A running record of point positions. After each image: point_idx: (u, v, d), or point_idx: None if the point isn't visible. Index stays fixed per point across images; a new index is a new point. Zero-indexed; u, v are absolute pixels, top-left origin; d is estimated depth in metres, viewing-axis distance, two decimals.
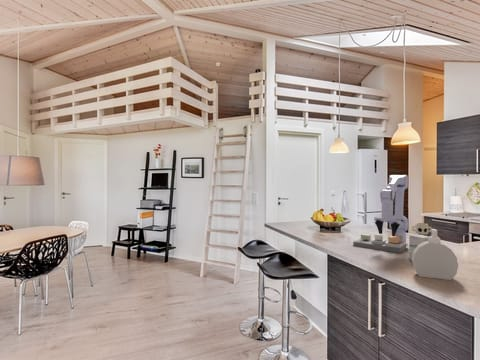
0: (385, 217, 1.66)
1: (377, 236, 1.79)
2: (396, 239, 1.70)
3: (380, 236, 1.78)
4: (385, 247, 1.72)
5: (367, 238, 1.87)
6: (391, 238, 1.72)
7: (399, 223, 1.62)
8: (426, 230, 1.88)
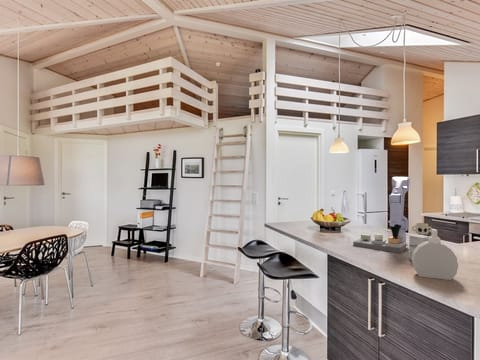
0: (390, 219, 1.76)
1: (377, 236, 1.79)
2: (396, 240, 1.70)
3: (380, 236, 1.78)
4: (385, 247, 1.72)
5: (367, 238, 1.87)
6: (391, 239, 1.72)
7: (391, 226, 1.70)
8: (426, 230, 1.88)
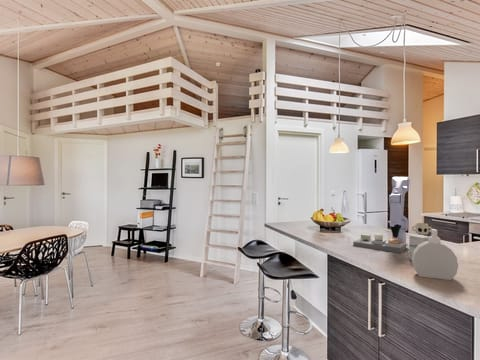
0: (390, 219, 1.77)
1: (377, 236, 1.79)
2: (396, 242, 1.70)
3: (380, 236, 1.78)
4: (385, 247, 1.72)
5: (367, 238, 1.87)
6: (391, 241, 1.72)
7: (391, 226, 1.70)
8: (426, 230, 1.88)
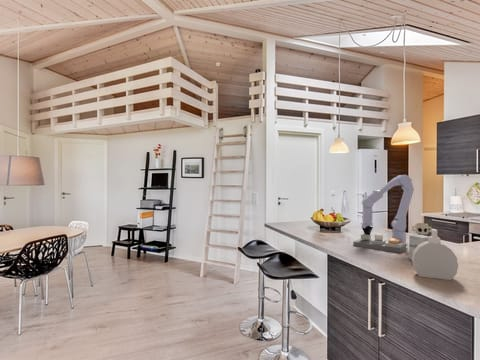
0: None
1: (377, 236, 1.79)
2: (396, 242, 1.70)
3: (380, 236, 1.78)
4: (385, 247, 1.72)
5: (367, 238, 1.87)
6: (391, 241, 1.72)
7: (362, 227, 1.87)
8: (426, 230, 1.88)
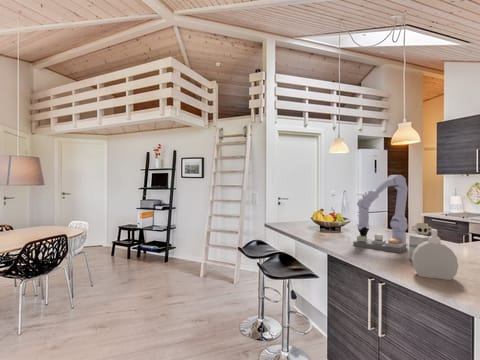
0: None
1: (377, 236, 1.79)
2: (396, 242, 1.70)
3: (380, 236, 1.78)
4: (385, 247, 1.72)
5: (363, 240, 1.82)
6: (391, 241, 1.72)
7: (358, 228, 1.81)
8: (426, 230, 1.88)
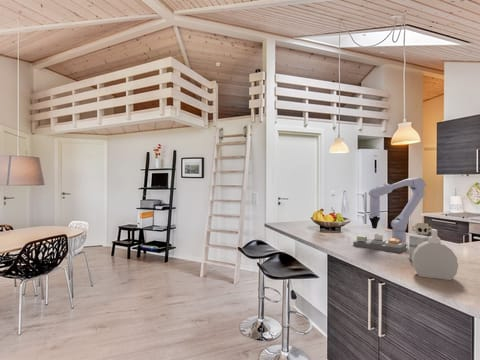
0: None
1: (377, 236, 1.79)
2: (396, 242, 1.70)
3: (380, 236, 1.78)
4: (385, 247, 1.72)
5: (363, 240, 1.82)
6: (391, 241, 1.72)
7: (370, 217, 1.85)
8: (426, 230, 1.88)
